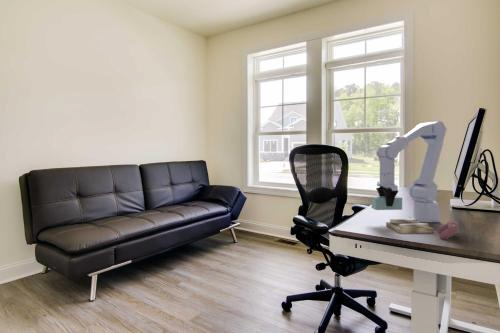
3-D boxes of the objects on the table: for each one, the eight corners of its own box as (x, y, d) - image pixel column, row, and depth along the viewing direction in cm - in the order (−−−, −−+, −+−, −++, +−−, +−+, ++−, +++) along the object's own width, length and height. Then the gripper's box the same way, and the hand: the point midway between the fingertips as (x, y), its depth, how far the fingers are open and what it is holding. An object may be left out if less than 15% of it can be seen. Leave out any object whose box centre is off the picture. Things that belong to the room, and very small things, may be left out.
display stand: (416, 225, 125) (416, 218, 125) (433, 232, 114) (433, 224, 114) (386, 225, 125) (386, 218, 125) (399, 233, 114) (399, 225, 114)
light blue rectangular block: (396, 207, 129) (397, 196, 129) (402, 209, 124) (402, 197, 124) (371, 207, 129) (371, 196, 129) (375, 210, 124) (376, 198, 124)
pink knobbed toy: (451, 244, 104) (462, 228, 102) (437, 237, 106) (448, 221, 104) (449, 237, 113) (460, 222, 111) (437, 230, 115) (447, 215, 113)
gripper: (370, 172, 133) (370, 202, 134) (385, 175, 118) (385, 208, 119) (386, 171, 133) (386, 201, 134) (403, 174, 118) (402, 208, 119)
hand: (386, 205), depth 126 cm, fingers closed on light blue rectangular block, 4 cm apart
